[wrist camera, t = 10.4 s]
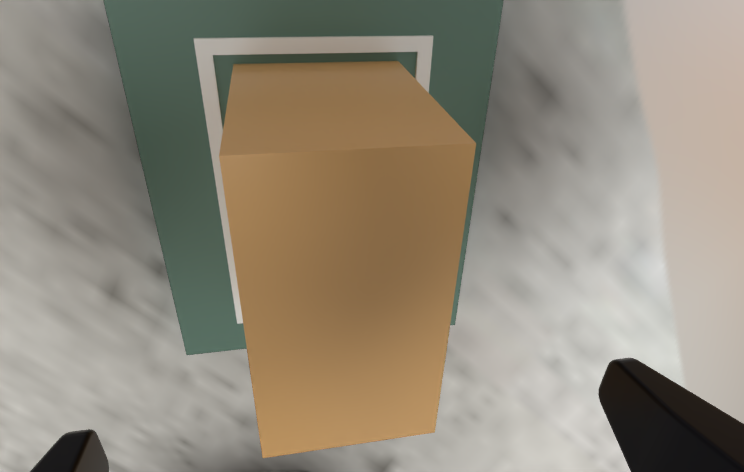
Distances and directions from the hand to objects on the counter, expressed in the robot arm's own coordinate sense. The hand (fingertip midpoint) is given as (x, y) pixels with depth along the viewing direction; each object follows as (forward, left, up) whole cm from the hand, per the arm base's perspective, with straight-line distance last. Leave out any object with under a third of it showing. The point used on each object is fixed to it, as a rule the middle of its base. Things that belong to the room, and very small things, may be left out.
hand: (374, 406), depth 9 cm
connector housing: (0, 0, -8) cm, 8 cm away
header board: (0, 0, -9) cm, 9 cm away
